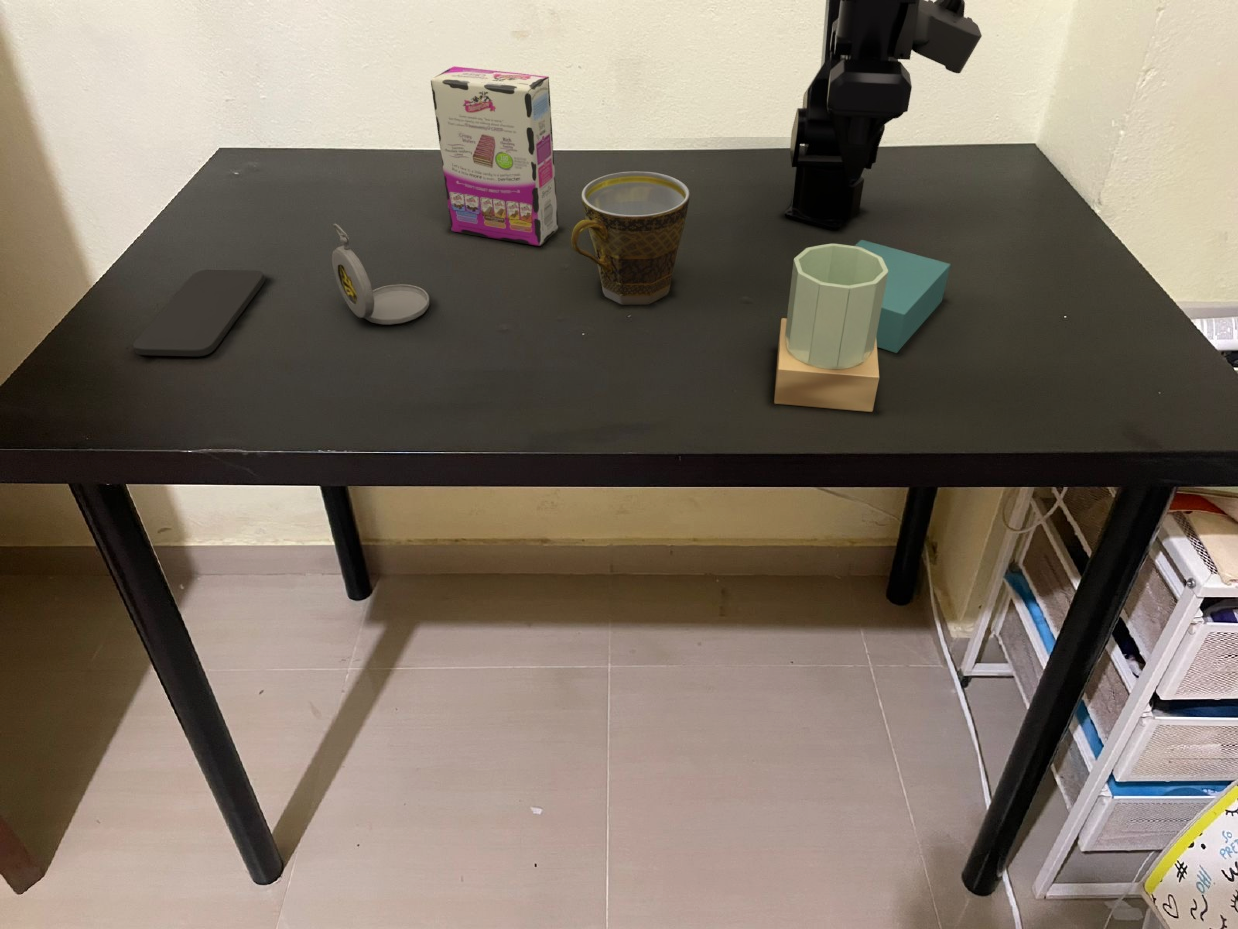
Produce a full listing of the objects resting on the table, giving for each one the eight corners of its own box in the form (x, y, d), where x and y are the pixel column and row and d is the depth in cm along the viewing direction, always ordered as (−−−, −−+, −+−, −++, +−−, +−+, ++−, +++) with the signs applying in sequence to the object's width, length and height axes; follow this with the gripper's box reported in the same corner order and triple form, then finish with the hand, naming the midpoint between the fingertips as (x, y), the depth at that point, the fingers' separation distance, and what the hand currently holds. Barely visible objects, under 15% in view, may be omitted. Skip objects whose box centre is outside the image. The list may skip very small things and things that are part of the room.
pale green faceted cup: (769, 352, 78) (778, 271, 73) (810, 314, 82) (820, 235, 77) (848, 380, 75) (862, 296, 70) (885, 339, 79) (901, 258, 74)
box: (805, 323, 88) (810, 285, 85) (855, 275, 95) (861, 239, 92) (896, 353, 84) (904, 314, 81) (942, 301, 91) (950, 263, 88)
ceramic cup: (635, 255, 99) (635, 162, 92) (707, 288, 93) (712, 191, 87) (541, 300, 92) (534, 203, 85) (613, 339, 86) (611, 238, 80)
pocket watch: (442, 298, 92) (427, 202, 86) (399, 343, 86) (380, 242, 80) (369, 286, 94) (349, 191, 88) (322, 328, 88) (297, 229, 82)
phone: (267, 270, 95) (208, 350, 84) (269, 277, 96) (210, 358, 84) (196, 269, 96) (127, 348, 84) (198, 276, 96) (130, 356, 85)
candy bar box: (560, 228, 104) (552, 74, 93) (540, 248, 100) (529, 90, 90) (471, 213, 107) (453, 62, 96) (448, 231, 103) (427, 77, 93)
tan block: (773, 404, 78) (778, 368, 76) (777, 351, 84) (781, 317, 82) (872, 412, 77) (879, 377, 75) (869, 358, 83) (875, 324, 81)
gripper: (1001, -1, 67) (954, 208, 77) (974, -55, 81) (938, 127, 91) (841, -6, 68) (815, 199, 78) (842, -58, 83) (820, 121, 92)
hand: (853, 158), depth 85 cm, fingers open, 9 cm apart
